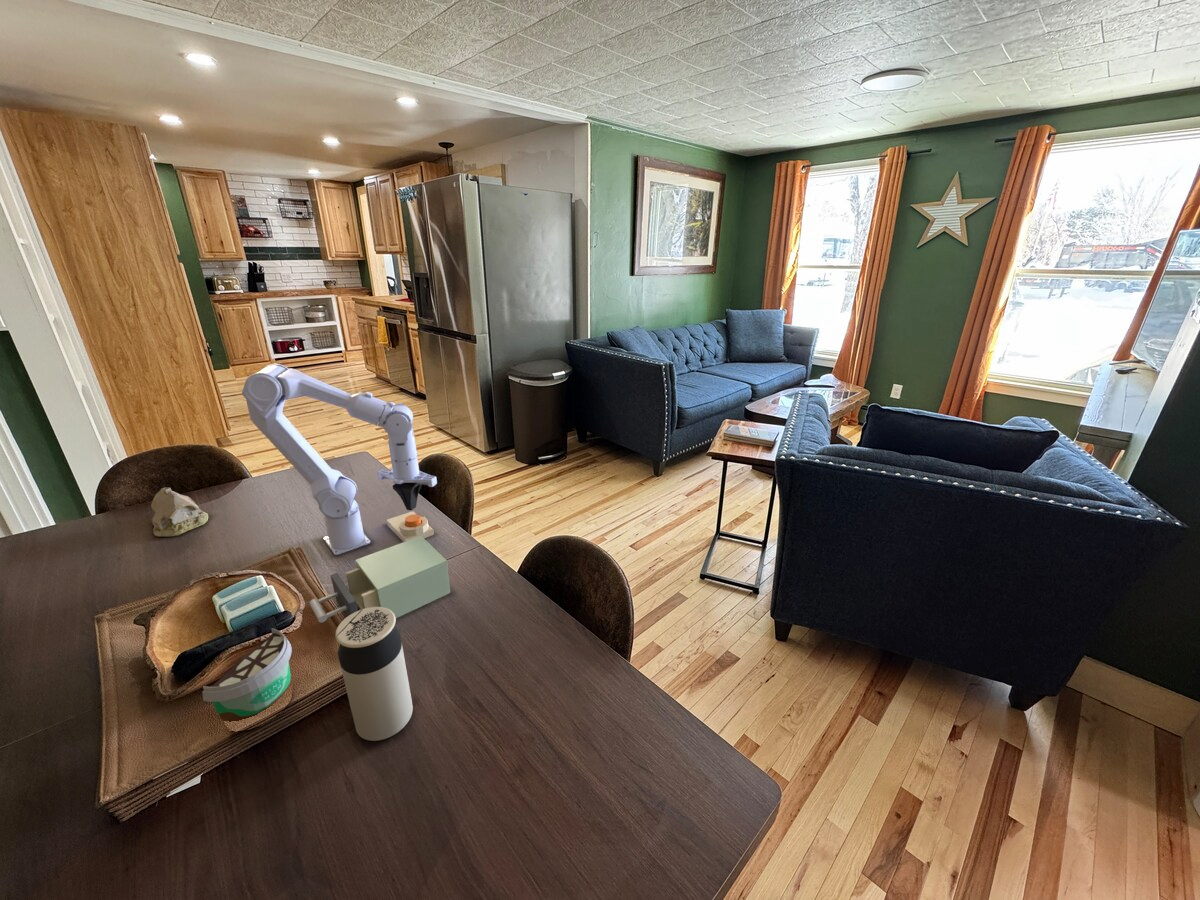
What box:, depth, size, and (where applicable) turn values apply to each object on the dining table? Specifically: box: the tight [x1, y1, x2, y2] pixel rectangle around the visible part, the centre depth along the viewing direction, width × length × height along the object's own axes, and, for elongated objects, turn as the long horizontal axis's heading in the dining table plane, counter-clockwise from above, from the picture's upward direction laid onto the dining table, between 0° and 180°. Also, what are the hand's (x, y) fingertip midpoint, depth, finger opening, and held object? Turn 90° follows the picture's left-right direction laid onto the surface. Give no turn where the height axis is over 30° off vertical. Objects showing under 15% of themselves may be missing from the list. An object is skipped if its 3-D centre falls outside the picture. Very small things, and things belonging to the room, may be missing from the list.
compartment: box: [309, 567, 380, 624], centre depth 91 cm, size 17×11×6 cm, turn 133°
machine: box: [355, 536, 451, 619], centre depth 96 cm, size 14×12×8 cm
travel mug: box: [335, 607, 414, 742], centre depth 68 cm, size 8×8×18 cm
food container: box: [202, 628, 293, 722], centre depth 71 cm, size 12×6×10 cm, turn 168°
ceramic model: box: [150, 486, 209, 537], centre depth 118 cm, size 14×11×10 cm
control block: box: [386, 510, 435, 543], centre depth 119 cm, size 12×7×4 cm, turn 43°
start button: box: [405, 513, 422, 527], centre depth 116 cm, size 4×4×2 cm
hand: (411, 508), depth 115 cm, fingers closed
